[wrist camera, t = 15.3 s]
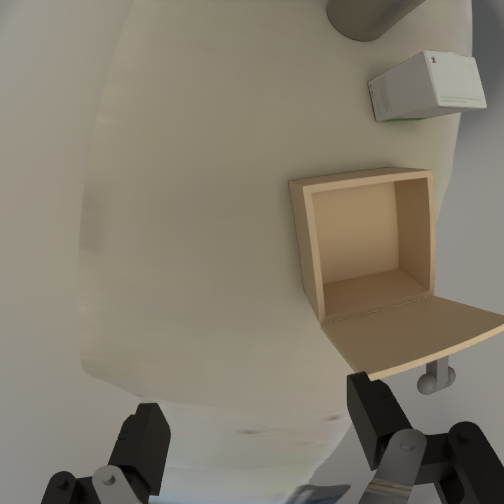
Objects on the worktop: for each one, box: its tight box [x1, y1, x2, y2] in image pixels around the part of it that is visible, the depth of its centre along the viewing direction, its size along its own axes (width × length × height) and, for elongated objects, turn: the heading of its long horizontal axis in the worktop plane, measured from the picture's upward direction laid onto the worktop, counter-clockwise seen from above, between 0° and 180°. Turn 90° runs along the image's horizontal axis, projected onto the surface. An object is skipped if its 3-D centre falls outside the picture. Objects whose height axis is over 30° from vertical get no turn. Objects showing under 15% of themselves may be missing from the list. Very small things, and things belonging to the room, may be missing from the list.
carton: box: [288, 167, 436, 324], centre depth 38 cm, size 16×16×10 cm
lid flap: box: [321, 296, 504, 395], centre depth 28 cm, size 16×16×5 cm
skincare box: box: [368, 50, 487, 122], centre depth 30 cm, size 8×7×16 cm
